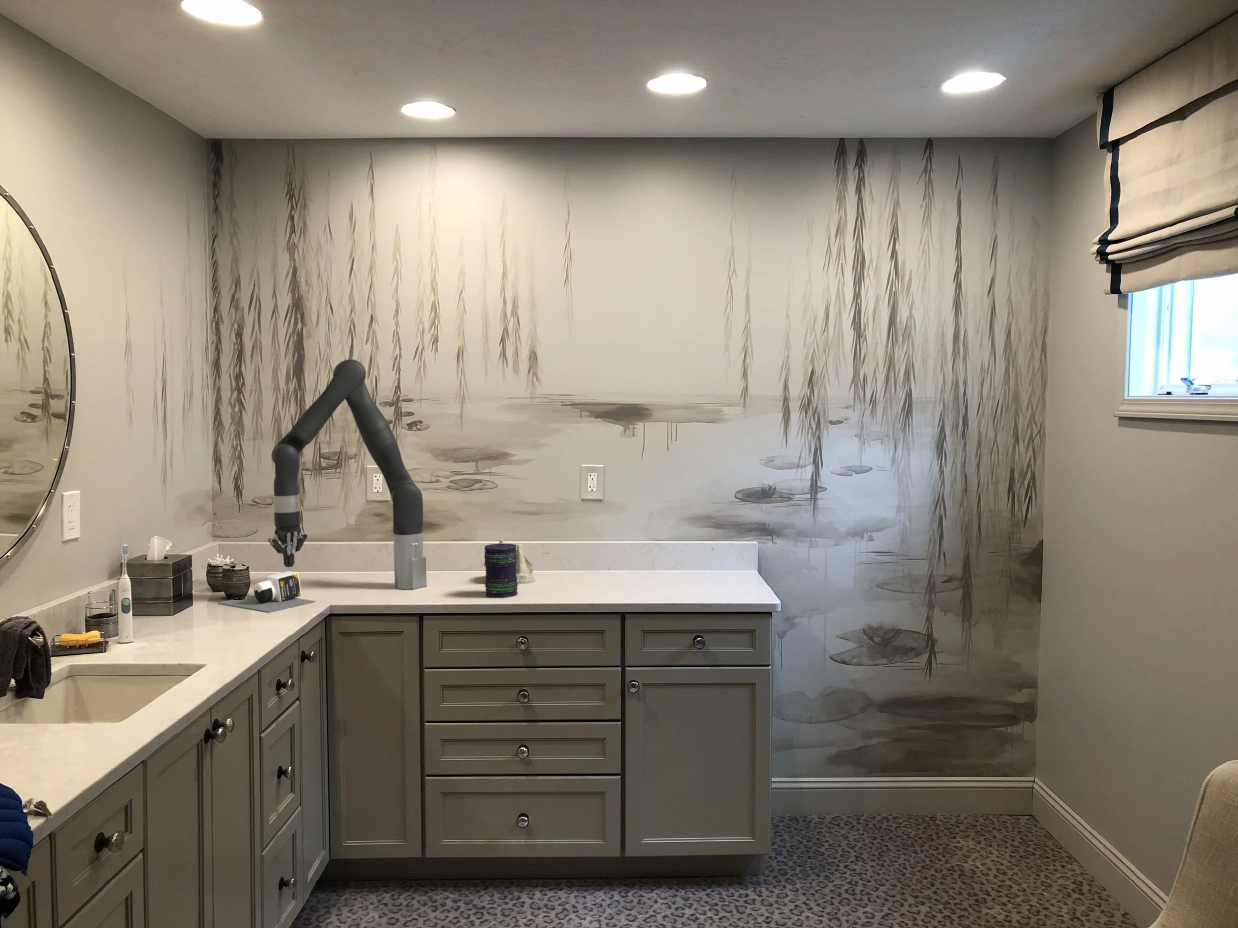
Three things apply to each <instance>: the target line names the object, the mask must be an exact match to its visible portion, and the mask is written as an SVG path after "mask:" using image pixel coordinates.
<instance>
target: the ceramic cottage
mask: <svg viewBox="0 0 1238 928" xmlns="http://www.w3.org/2000/svg"><path fill="white" fill-rule="evenodd" d="M498 544H506V542H504V539H503V538H500V539H499V543H498ZM516 550H517V553H516V554H517V564H516V576H517V582H518V585H523V584H531V583H535V582H536V577H535V575H534V574H533V567H532V566H533V563H532V562H531V561H530V560H529V559H528V558H527V557H526V555H525V554H524V553H525V552H524V546H523V544H521V543H518V544H516ZM483 567H485V568H486V565H485V562H484V563H483ZM485 578H486V574H485V575H484V577H483V583H484V584H485V583H486V582H485Z"/></svg>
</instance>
